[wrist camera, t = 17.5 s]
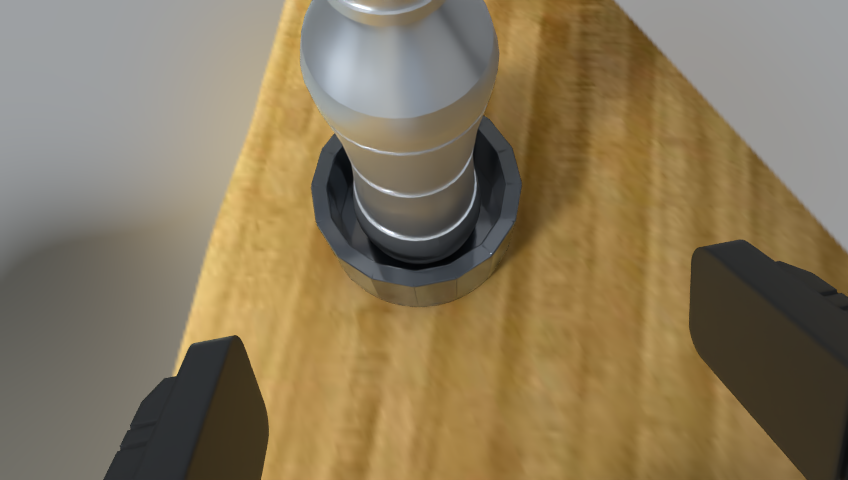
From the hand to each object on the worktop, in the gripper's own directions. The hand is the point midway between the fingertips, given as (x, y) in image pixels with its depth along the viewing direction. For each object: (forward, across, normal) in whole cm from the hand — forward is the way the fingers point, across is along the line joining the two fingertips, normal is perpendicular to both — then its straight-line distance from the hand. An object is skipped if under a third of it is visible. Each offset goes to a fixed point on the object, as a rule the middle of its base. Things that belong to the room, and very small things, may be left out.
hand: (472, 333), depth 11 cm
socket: (+22, 0, +7) cm, 23 cm away
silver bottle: (+22, 0, +7) cm, 23 cm away
